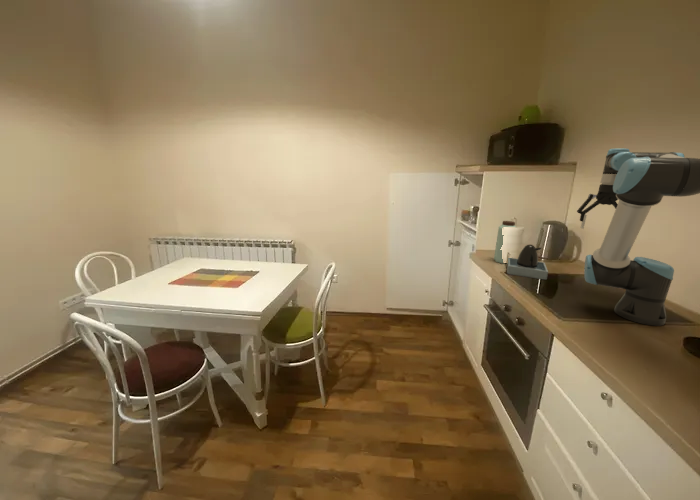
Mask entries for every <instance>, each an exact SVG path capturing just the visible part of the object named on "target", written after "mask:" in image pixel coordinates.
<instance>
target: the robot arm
mask: <svg viewBox="0 0 700 500" xmlns="http://www.w3.org/2000/svg"><path fill="white" fill-rule="evenodd" d="M606 154H607V155H606V156H605V162H604V166H603V171H602V175H601V179H600V183H601V184H599V188H598V190H597V194H593V193H590V194H588V197H587V198H586V199H585V201H584V202H583V203H582V204H581V206H580V207H579V208H578V209H577V210H576V212H577V213H578V214H579V215H580V217H579V221H580V222H581V223H580V229H583V230H584V228H585V224H586V221H587V220H586V219H587V216H588V215H587V213H589V212H590V211H591V210H593V209H595V208H596V207H597V206H598V205H608V206H611V205H612V206H613V208H614V209H615V210H614V212H613V216H612V218H611V221H610V224H609V225H608V228H607V231H606V233H605V235H604V238H603V240H602V243H601V246H600V248H597V249H596V250H594V251H593V253H592V254H587V255H586V256H585V259H584V271H583V273H584V280H585V282H586V283H588V284H591V285H595V286H602V287H603V286H604V287H611V288H617V289H620V290H625V292H624V294H623V295H622V297H621V298H620V299H619V300H618V301H617V302H616V304H615V305H614V309H613V312H614V313H615V314H617V316H619V317H622V318H623V319H625V320H629V321H631V322H634V323H638V324H642V325H647V326H653V327H654V326H655V327H656V326H664V325H665V323H666V321H667V312H666V306H665V302H666V299H667V296H668V293H669V290H670V287H671V283H672V281H673V280H674V275H675V274H674V273H675V269H674V267H673V266H672V265H671V264H668V263H665V262H663V261H659V260H658V259H657V260H656V259H653V258H649V257H643V256H635V257H634V258H633V260H632V259H631V258H630V256H629V254H630V253H631V249H633V246H634V244H635V241H636V240H637V237H638V236H639V234H640V232H641V231H640V230H641V229H642V227H643V225H644V223H645V221H646V219H647V217H648V215H649V213H650V210H651V208H652V207H653V206H656V205H659V204H660V203H661V201H662V199H663V197H690V196H696V195H698V194H699V195H700V158H695V157H686V156H685V155H684V153H683V152H674V151H673V152H647V151H646V152H643V151H642V152H641V151H640V152H638V151H637V152H633V151H630V149H629V148H623V147H622V148H620V147H619V148H610V149H608V150H607V153H606ZM595 198H596V201H594V202H593V203H592V204H590V202H592V200H594V199H595ZM618 200H619V201H618ZM617 201H618V202H617ZM588 204H590V205H589V206H588ZM587 206H588V207H587ZM586 207H587V208H586Z"/></svg>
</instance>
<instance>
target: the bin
mask: <svg viewBox="0 0 700 500" xmlns="http://www.w3.org/2000/svg"><path fill="white" fill-rule="evenodd" d="M517 260H518V258H513V257H512V258H508V263H507V264H506V270H507V271H506V274H508V275H512V276H519V277H524V278H525V277H526V278H531V279H538V280H544V281H546V280H547V279H548V274H549V270H548V268H547V265H546V262H542V261H538V266H537V267H536V269H528V268H521V267H518V266H517Z"/></svg>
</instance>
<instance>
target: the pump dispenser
mask: <svg viewBox="0 0 700 500" xmlns="http://www.w3.org/2000/svg"><path fill="white" fill-rule="evenodd" d="M540 250H542V247H536V246H535V245H533V244H526V245H525V246H524V247H523V249H522V250H521V251H520V253H519V255H518V257H517V259H518V260H517V266H518V267H521V268H528V269H536V267H537V266H538V262H539V256H538V251H540Z"/></svg>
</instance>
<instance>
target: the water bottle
mask: <svg viewBox="0 0 700 500" xmlns="http://www.w3.org/2000/svg"><path fill="white" fill-rule="evenodd" d="M503 227H516V228H517V226H516V222H515V221H511V220H502V224H501V225H500V226H498V229H497V236H496V242H495V243H496V244H495V249H494V255H493V260H494V261H495V262H496V263H499V264H504V263H503V259H502V250H500V249H501V247H502V245H503V236H504V235H502V228H503Z"/></svg>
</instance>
